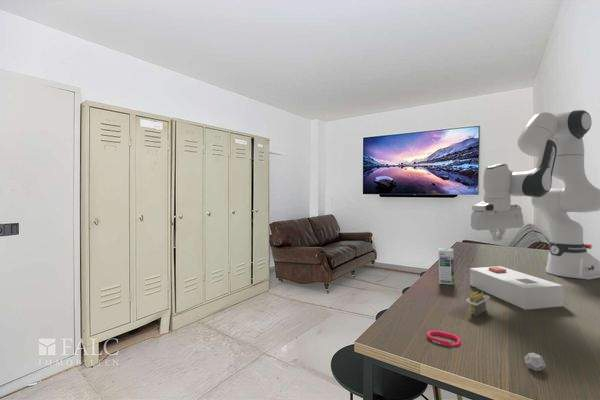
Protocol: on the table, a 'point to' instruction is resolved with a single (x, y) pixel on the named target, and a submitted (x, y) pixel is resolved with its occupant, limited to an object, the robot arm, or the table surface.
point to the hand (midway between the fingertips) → (497, 240)
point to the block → (518, 288)
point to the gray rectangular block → (526, 281)
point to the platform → (477, 303)
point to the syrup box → (446, 266)
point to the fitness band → (441, 341)
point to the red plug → (497, 270)
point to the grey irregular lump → (534, 362)
